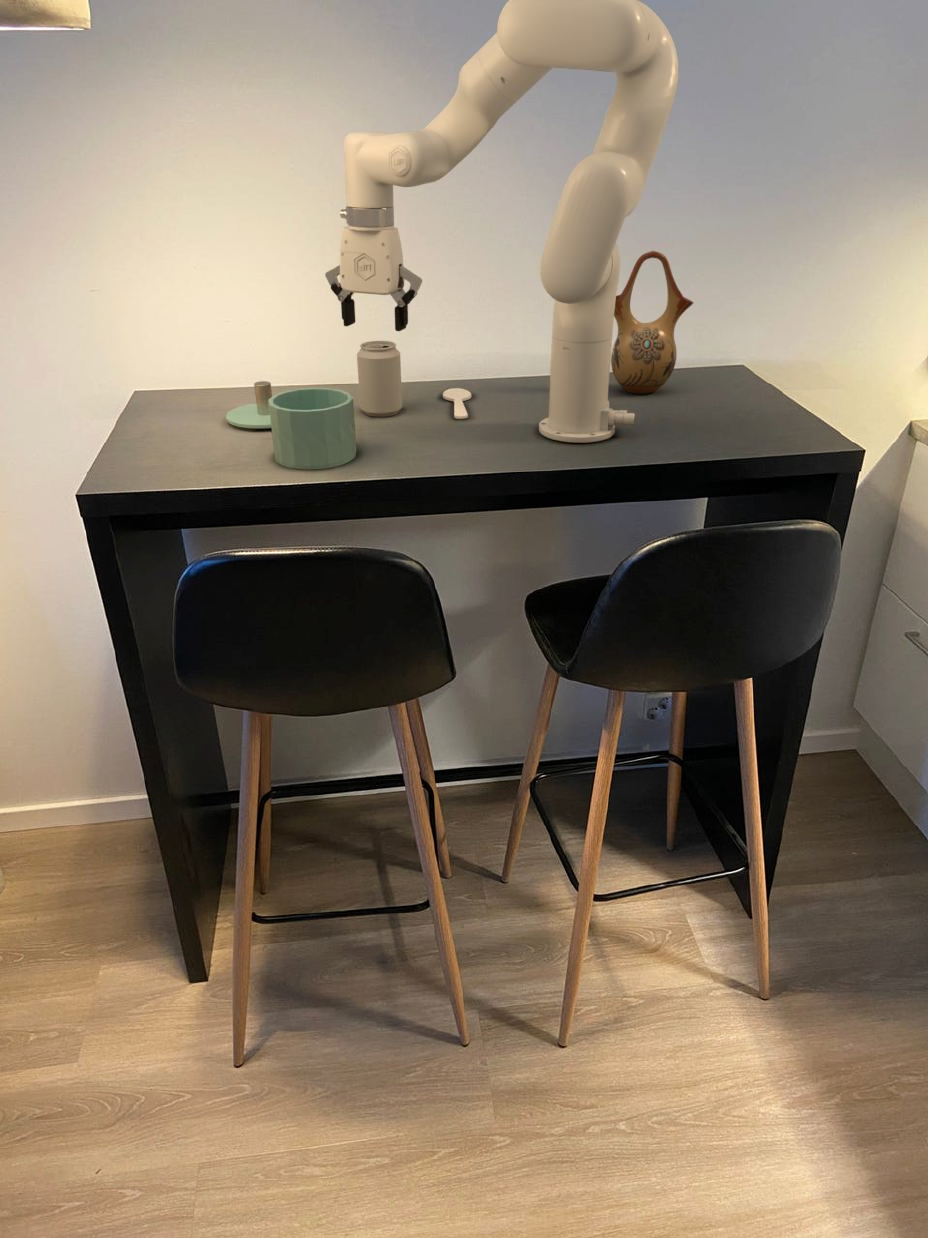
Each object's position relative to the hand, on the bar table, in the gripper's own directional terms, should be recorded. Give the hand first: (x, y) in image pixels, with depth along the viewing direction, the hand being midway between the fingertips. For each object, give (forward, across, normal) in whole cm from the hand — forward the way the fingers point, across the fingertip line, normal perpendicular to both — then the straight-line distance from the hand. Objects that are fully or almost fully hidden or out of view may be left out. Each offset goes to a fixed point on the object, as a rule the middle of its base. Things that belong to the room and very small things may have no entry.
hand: (375, 327), depth 156 cm
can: (+15, +1, 0) cm, 15 cm away
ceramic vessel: (+14, +42, +28) cm, 52 cm away
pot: (+15, +1, -24) cm, 29 cm away
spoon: (+14, +12, +9) cm, 21 cm away
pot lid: (+14, -16, -11) cm, 24 cm away
